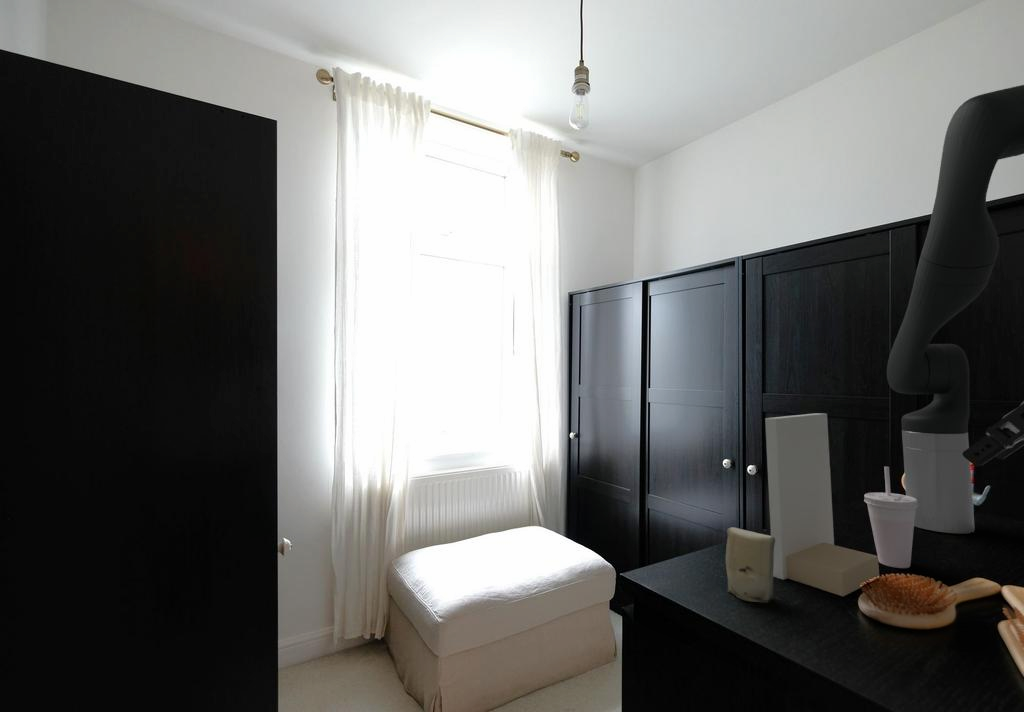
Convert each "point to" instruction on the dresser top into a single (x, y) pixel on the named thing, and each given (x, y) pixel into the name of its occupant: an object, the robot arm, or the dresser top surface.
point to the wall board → (808, 508)
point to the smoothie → (892, 525)
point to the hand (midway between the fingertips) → (981, 457)
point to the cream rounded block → (750, 565)
